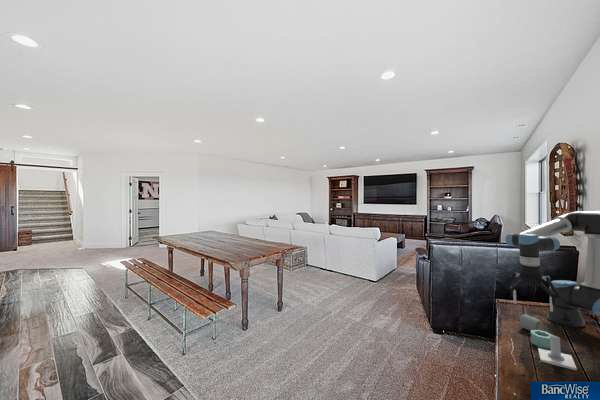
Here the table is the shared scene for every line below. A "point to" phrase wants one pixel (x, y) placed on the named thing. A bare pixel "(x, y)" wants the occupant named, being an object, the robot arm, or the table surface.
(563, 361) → the plate with round peg
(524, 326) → the ceramic mug
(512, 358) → the table surface
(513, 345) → the table surface
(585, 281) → the robot arm
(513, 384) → the table surface
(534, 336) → the ring
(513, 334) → the table surface
